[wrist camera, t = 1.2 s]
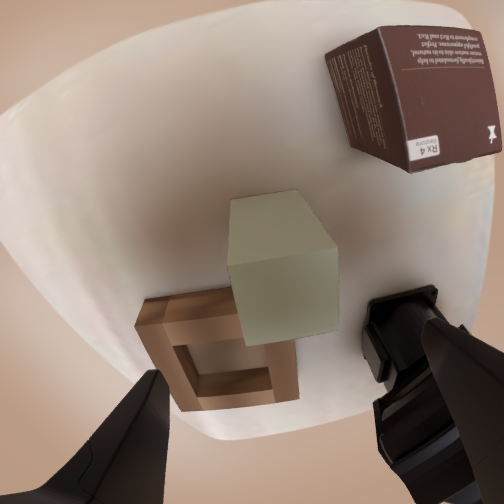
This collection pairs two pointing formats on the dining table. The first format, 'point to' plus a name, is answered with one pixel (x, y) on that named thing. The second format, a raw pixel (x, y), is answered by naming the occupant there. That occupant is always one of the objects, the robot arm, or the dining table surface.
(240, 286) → the peg
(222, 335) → the socket block
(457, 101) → the box
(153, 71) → the dining table surface
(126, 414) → the robot arm
